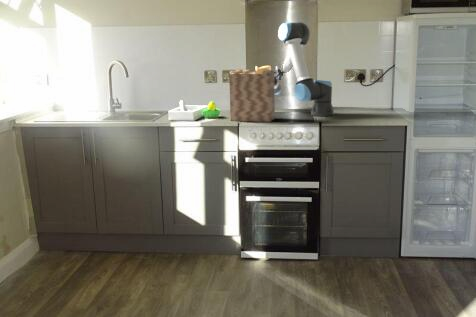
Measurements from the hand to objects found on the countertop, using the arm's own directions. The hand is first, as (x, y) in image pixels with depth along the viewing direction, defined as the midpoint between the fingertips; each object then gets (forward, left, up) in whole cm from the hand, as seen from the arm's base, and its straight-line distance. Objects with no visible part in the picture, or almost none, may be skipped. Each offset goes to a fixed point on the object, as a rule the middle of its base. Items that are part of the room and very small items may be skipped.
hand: (266, 67), depth 333 cm
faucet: (+55, +8, -33) cm, 65 cm away
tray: (+52, +8, -32) cm, 62 cm away
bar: (-1, +8, -2) cm, 8 cm away
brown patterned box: (+6, +12, -32) cm, 35 cm away
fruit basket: (+36, +7, -33) cm, 49 cm away
